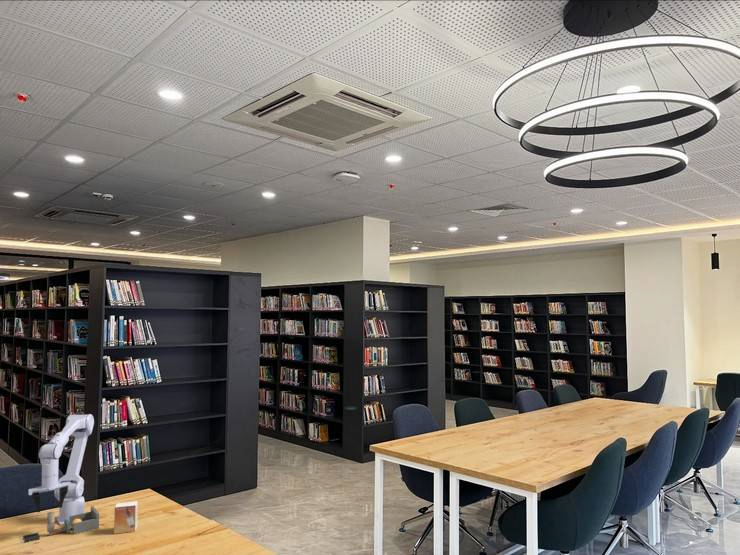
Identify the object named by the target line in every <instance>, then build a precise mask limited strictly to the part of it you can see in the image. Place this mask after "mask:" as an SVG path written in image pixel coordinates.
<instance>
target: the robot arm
mask: <svg viewBox="0 0 740 555" xmlns="http://www.w3.org/2000/svg"><path fill="white" fill-rule="evenodd" d="M94 426H95V419H94V416H93V414H91V413H89V414H69V415H68V417H67V418H66V420H65V426H64V427H63V429H62V430H61V431H59V432H56V434H55V435H54V436H53V437H52V438H51V439H50V440H49V442H48V443H47V444H44V445H42V446H41V447H40V449H39V452H38V458H39V459H40V464H41V485H40V486H37V487H33V488H29V489H28V491H27V492H28V493H27V494H28V496H32V498H33V501H34V503H35V505H36V512H37V513H41V506H40V502H41V495H40V494H43V493H47V492H52V491H54V492H53V493H54V497H55V498H56V499H57V501H58V502H59V504H58V510H59V511H58V517H57V518H56V521H57V522H58V525H60V526H61V525H64V520H67V519H68V521H69V516H73V515H77V514H82V513H86V512H85V508H86V506H85V505H86V504H85V497H84V495H83V493H84V489H85V488H84V487H85V486H84V485H85V480H84V479H83V478H82V477H81V476H80V471H81V468H82V463H83V460H84V459H83V458H84V454H85V450H86V447H87V442H88V437H89V436H90V435H92V432H93V429H94ZM70 436H72V437H74V441H73V444H72V449H71V453H70V457H69V461H68V463H67V469H66V472H65V474H64V475H63V476H62V477H60V478H59V461H60V460H59V458H60V457H61V456H62V452H63V451H64V447H65V446H66V445H67V443H68V442H69V440H70V438H69V437H70ZM82 495H83V496H82Z"/></svg>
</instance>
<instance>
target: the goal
mask: <svg viewBox="0 0 740 555" xmlns="http://www.w3.org/2000/svg"><path fill="white" fill-rule="evenodd" d="M75 519H81V521H82V522H77V523H74V529H73V535H77V533H78V534H80V532H82V533H85V532H84V531H86V532H89V531H88V530H91V531H93V530H92V529H95V530H98V529H97V528H99V529H100V513H99V511H98V510H97V509H96V508H95V506H94V505H91V506H90V511H86V512H85V513H82V514H77V515H73V516H69V522H70V524H71V523H72V521H73V520H75Z"/></svg>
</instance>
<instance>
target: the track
mask: <svg viewBox="0 0 740 555" xmlns="http://www.w3.org/2000/svg"><path fill="white" fill-rule="evenodd" d="M40 537H41V536H40V535H39V532H34V533H30V534H26V535H23V538H22V541H23V542H24V543H25V544H27V543H30V542H29V541H31V542H35V541H38V540H40ZM34 540H35V541H34ZM26 542H27V543H26Z"/></svg>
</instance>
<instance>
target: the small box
mask: <svg viewBox="0 0 740 555" xmlns="http://www.w3.org/2000/svg"><path fill="white" fill-rule="evenodd" d="M138 502H139V501H138V500H135V501H126V502H117V503H115V504H116V505H115V507H114V515H113V517H114V520H113V521H114V522H113V524H114V525H113V534H117V535H118V534H125V533H126V532H128V533H135V532H136V531H137V527H138V505H139V504H138ZM126 534H127V533H126Z"/></svg>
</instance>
